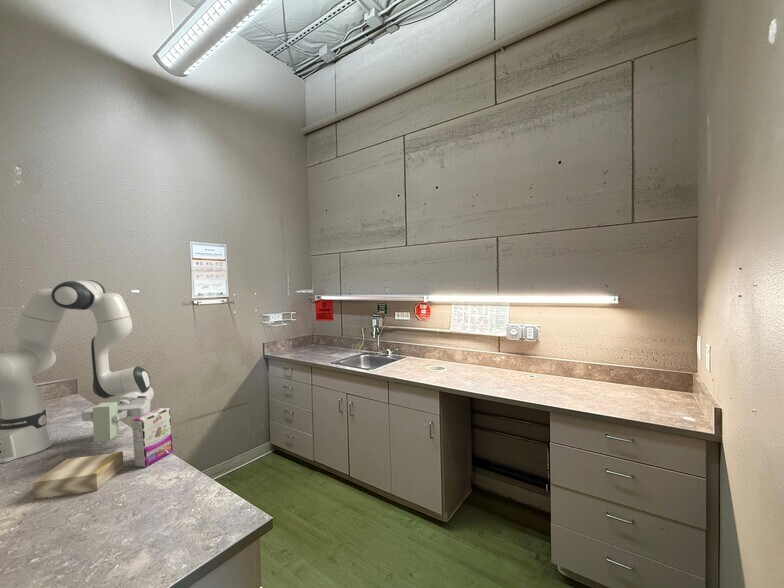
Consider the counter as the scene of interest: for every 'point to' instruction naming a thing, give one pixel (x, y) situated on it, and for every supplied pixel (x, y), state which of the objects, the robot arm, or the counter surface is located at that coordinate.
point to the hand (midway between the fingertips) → (104, 419)
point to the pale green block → (105, 421)
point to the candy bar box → (152, 436)
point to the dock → (78, 475)
